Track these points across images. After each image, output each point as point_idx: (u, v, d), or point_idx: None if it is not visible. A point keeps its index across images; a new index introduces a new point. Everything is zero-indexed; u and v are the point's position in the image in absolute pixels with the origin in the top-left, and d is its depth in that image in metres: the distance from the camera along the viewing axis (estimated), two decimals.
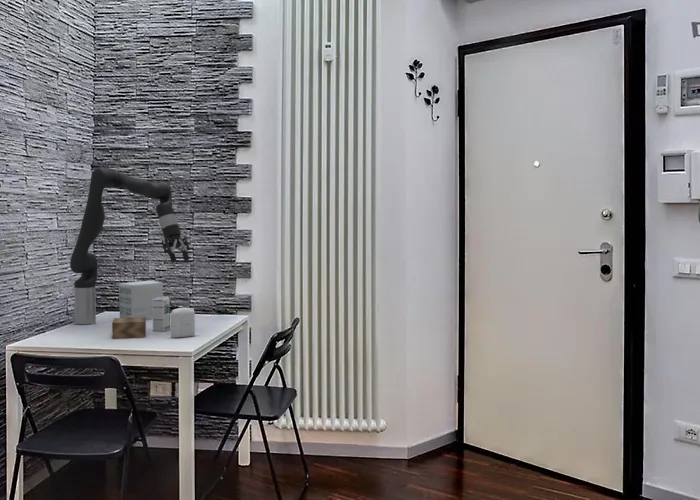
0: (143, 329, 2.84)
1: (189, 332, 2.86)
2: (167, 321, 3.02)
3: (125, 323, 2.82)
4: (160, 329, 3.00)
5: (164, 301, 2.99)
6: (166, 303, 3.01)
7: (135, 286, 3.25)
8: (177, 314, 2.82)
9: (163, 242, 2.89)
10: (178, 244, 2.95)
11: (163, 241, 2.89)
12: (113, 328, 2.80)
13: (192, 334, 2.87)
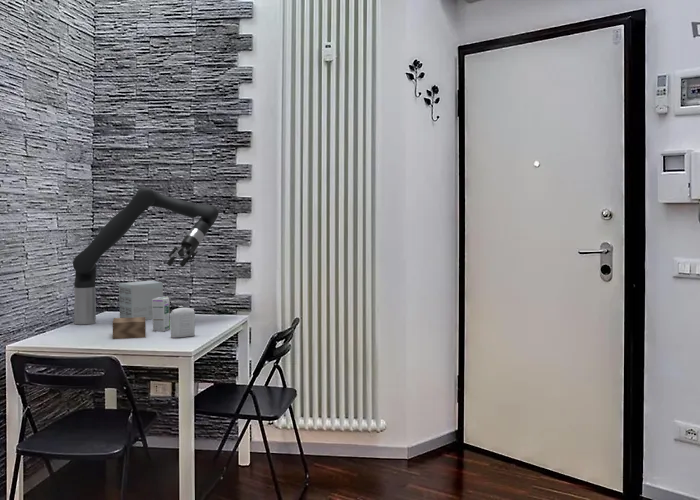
0: (143, 329, 2.84)
1: (189, 332, 2.86)
2: (167, 321, 3.02)
3: (125, 323, 2.82)
4: (160, 329, 3.00)
5: (164, 301, 2.99)
6: (166, 303, 3.01)
7: (135, 286, 3.25)
8: (177, 314, 2.82)
9: (194, 250, 3.15)
10: None
11: (195, 250, 3.15)
12: (113, 328, 2.80)
13: (192, 334, 2.87)
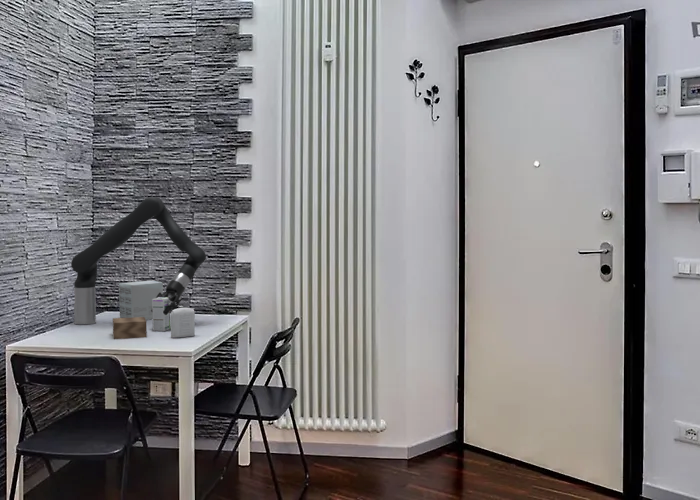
0: (145, 329, 2.84)
1: (189, 332, 2.86)
2: (167, 321, 3.02)
3: (127, 323, 2.82)
4: (160, 329, 3.00)
5: (164, 301, 2.99)
6: (166, 303, 3.01)
7: (135, 286, 3.25)
8: (177, 314, 2.82)
9: (179, 298, 3.02)
10: None
11: (180, 297, 3.02)
12: (115, 328, 2.80)
13: (192, 334, 2.87)
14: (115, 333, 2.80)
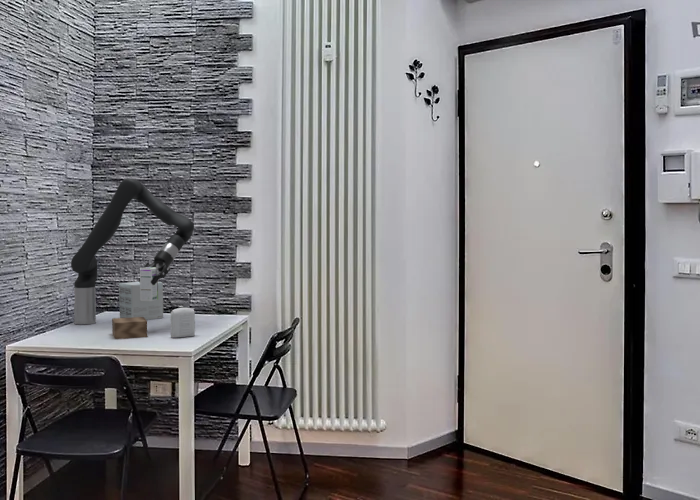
0: (145, 329, 2.85)
1: (189, 332, 2.86)
2: (155, 291, 2.96)
3: (127, 323, 2.82)
4: (148, 299, 2.94)
5: (152, 271, 2.93)
6: (154, 273, 2.95)
7: (135, 286, 3.25)
8: (177, 314, 2.82)
9: (167, 268, 2.96)
10: None
11: (168, 267, 2.96)
12: (115, 328, 2.80)
13: (192, 334, 2.87)
14: (116, 333, 2.80)
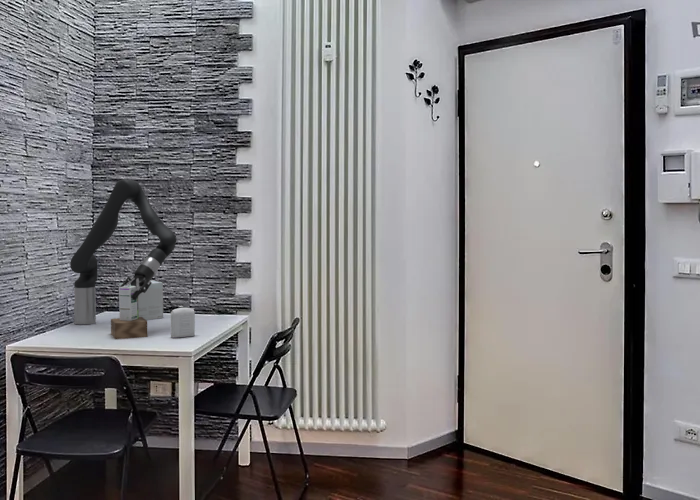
0: (145, 329, 2.85)
1: (189, 332, 2.86)
2: (134, 310, 2.88)
3: (128, 323, 2.82)
4: (127, 319, 2.86)
5: (131, 289, 2.85)
6: (134, 291, 2.87)
7: None
8: (177, 314, 2.82)
9: (148, 282, 2.88)
10: None
11: (149, 281, 2.88)
12: (116, 328, 2.80)
13: (192, 334, 2.87)
14: (116, 333, 2.80)
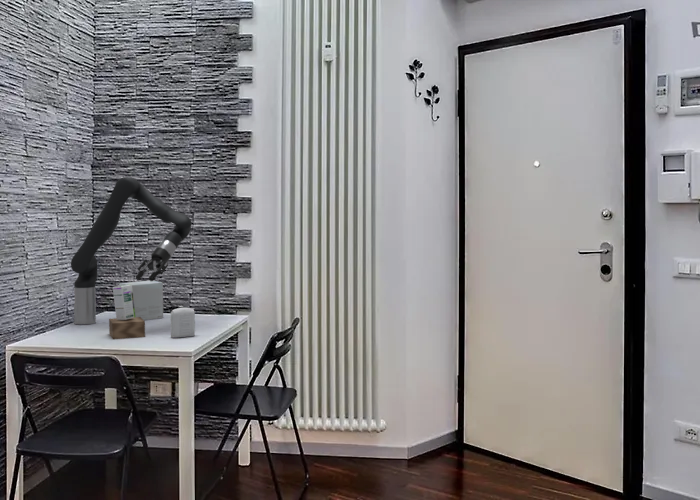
0: (143, 329, 2.85)
1: (189, 332, 2.86)
2: (129, 309, 2.87)
3: (125, 323, 2.82)
4: (122, 318, 2.86)
5: (123, 288, 2.85)
6: (127, 290, 2.87)
7: (135, 286, 3.25)
8: (177, 314, 2.83)
9: (165, 264, 2.95)
10: None
11: (165, 263, 2.95)
12: (113, 328, 2.80)
13: (192, 334, 2.87)
14: (114, 333, 2.80)
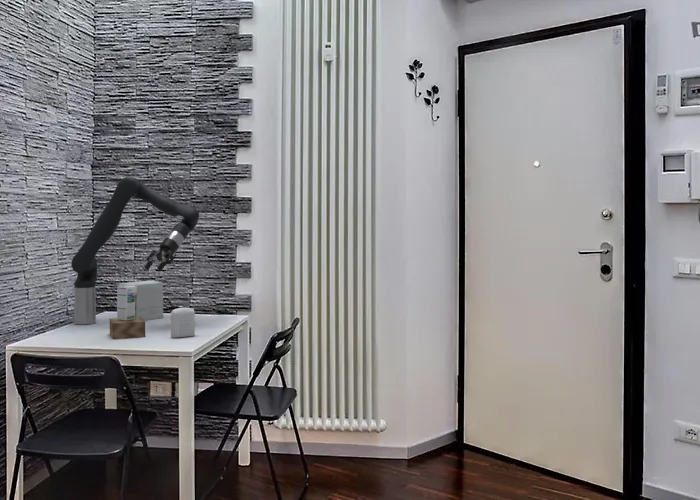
0: (143, 329, 2.85)
1: (189, 332, 2.86)
2: (131, 310, 2.87)
3: (126, 323, 2.81)
4: (123, 318, 2.86)
5: (128, 289, 2.85)
6: (131, 291, 2.87)
7: None
8: (177, 314, 2.82)
9: (173, 254, 3.01)
10: None
11: (174, 253, 3.01)
12: (114, 329, 2.80)
13: (192, 334, 2.87)
14: (114, 333, 2.80)
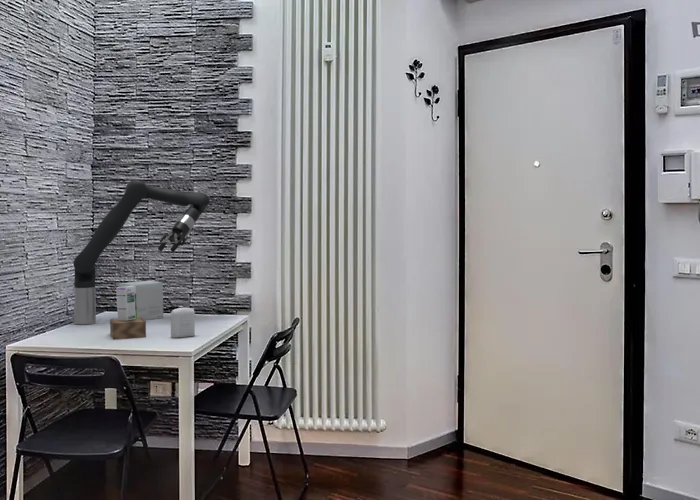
0: (144, 329, 2.84)
1: (189, 332, 2.86)
2: (132, 310, 2.87)
3: (126, 323, 2.81)
4: (124, 319, 2.85)
5: (127, 289, 2.85)
6: (130, 291, 2.86)
7: None
8: (177, 314, 2.82)
9: (185, 236, 3.20)
10: None
11: (186, 236, 3.20)
12: (114, 329, 2.79)
13: (192, 334, 2.87)
14: (114, 333, 2.79)
